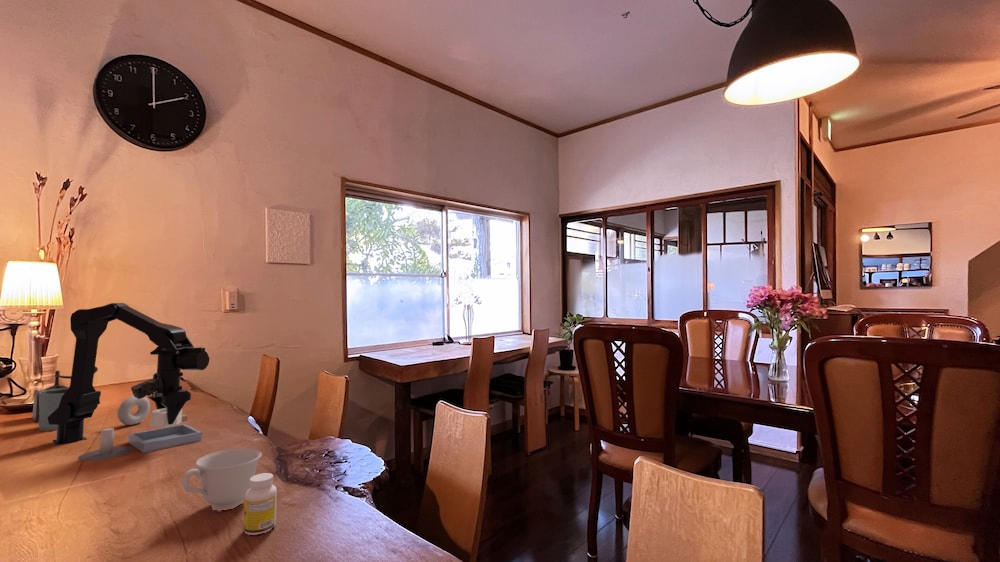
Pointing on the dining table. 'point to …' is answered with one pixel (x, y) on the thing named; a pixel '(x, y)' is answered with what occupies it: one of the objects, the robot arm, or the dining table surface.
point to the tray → (164, 437)
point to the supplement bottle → (260, 504)
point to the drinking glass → (49, 406)
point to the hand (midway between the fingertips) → (166, 421)
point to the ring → (165, 418)
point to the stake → (105, 448)
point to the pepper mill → (56, 386)
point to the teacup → (224, 476)
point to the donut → (127, 405)
